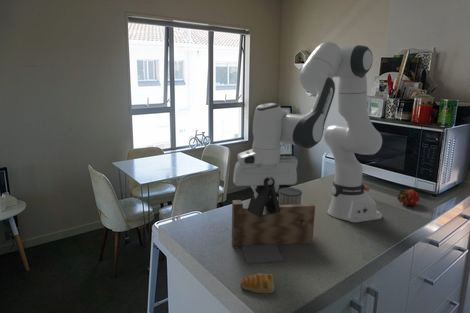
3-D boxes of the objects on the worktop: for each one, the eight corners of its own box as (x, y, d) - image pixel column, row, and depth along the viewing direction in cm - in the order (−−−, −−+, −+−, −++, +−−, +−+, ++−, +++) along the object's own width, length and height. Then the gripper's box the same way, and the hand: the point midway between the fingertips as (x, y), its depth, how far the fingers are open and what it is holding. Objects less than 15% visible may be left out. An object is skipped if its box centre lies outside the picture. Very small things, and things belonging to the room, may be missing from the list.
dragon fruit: (399, 210, 159) (409, 208, 167) (417, 204, 153) (426, 202, 161) (391, 193, 161) (401, 192, 169) (408, 186, 156) (418, 185, 164)
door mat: (275, 245, 120) (275, 244, 120) (284, 261, 109) (284, 260, 109) (241, 247, 118) (241, 245, 118) (247, 263, 107) (247, 262, 107)
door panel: (309, 238, 125) (312, 197, 122) (314, 245, 120) (317, 202, 117) (231, 242, 121) (232, 200, 117) (233, 249, 116) (234, 205, 113)
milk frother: (301, 223, 139) (303, 188, 135) (296, 240, 124) (298, 201, 121) (267, 218, 143) (268, 184, 139) (258, 234, 128) (259, 197, 125)
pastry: (241, 294, 92) (241, 282, 91) (239, 280, 99) (240, 268, 98) (275, 294, 93) (276, 282, 92) (271, 280, 99) (272, 268, 98)
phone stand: (257, 217, 105) (259, 180, 103) (247, 210, 110) (248, 175, 108) (280, 212, 110) (282, 176, 107) (269, 206, 115) (270, 171, 112)
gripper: (294, 153, 111) (292, 193, 114) (232, 154, 108) (232, 195, 111) (301, 157, 105) (298, 200, 108) (235, 158, 102) (234, 202, 105)
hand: (264, 197), depth 109 cm, fingers closed on phone stand, 4 cm apart
